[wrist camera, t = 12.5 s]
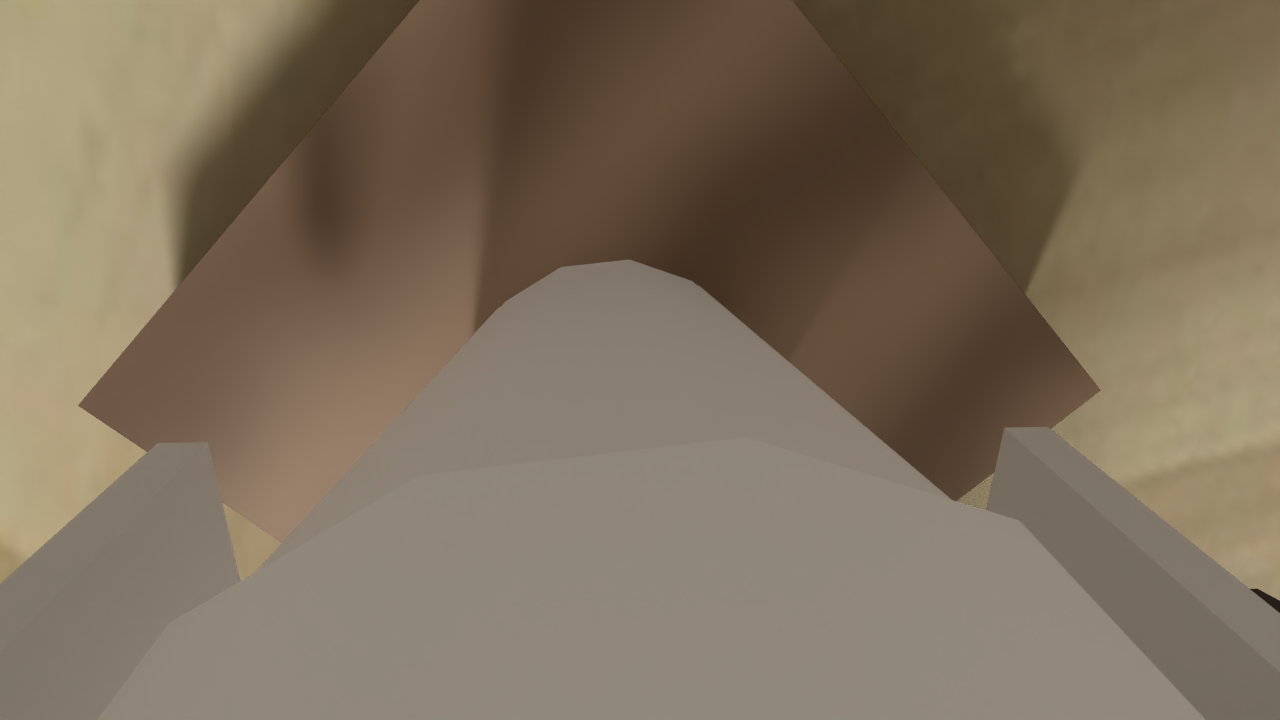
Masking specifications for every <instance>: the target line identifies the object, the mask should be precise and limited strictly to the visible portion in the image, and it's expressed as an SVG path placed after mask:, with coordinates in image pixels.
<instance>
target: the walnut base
mask: <svg viewBox="0 0 1280 720" xmlns="http://www.w3.org/2000/svg"><path fill="white" fill-rule="evenodd" d="M629 259H630V260H632V261H635V262H638V263H641V264H644V265H647V266H650V267H653V268H656V269H659V270H662V271H664V272H667V273H670V274H673V275H676V276H679V277H682V278H685V279H688V280H691V281H693V282H694V283H695V284H696V285H698V286H700V287H701V288H702V289H704V290H705V291H706V292H707V293H708V294H710V295H711V296H712V297H713V298H714V299H715V300H717V301H718V302H719V303H720V304H721V305H723V306H724V307H725V308H726V309H727V310H728V311H730V312H731V313H732V314H733V315H734V316H736V317H737V318H738V319H739V320H740V321H741V322H743V323H744V324H745V325H746V326H747V327H748V328H750V329H751V330H752V331H753V332H754V333H756V334H757V335H758V336H759V337H760V338H761V339H763V340H764V341H765V342H766V343H767V344H769V345H770V346H771V347H772V348H773V349H774V350H776V351H777V352H778V353H779V354H780V355H782V356H783V357H784V358H785V359H786V360H787V361H789V362H790V363H791V364H792V365H793V366H795V367H796V368H797V369H798V370H799V371H800V372H802V373H803V374H804V375H805V376H806V377H808V378H809V379H810V380H811V381H812V382H813V383H815V384H816V385H817V386H818V387H819V388H820V389H822V390H823V391H824V392H825V393H826V394H828V395H829V396H830V397H831V398H832V399H833V400H835V401H836V402H837V403H838V404H839V405H841V406H842V407H843V408H844V409H845V410H846V411H848V412H849V413H850V414H851V415H852V416H854V417H855V418H856V419H857V420H858V421H859V422H861V423H862V424H863V425H864V426H865V427H867V428H868V429H869V430H870V431H871V432H872V433H874V434H875V435H876V436H877V437H878V438H880V439H881V440H882V441H883V442H884V443H885V444H887V445H888V446H889V447H890V448H891V449H892V450H894V451H895V452H896V453H897V454H898V455H900V456H901V457H902V458H903V459H904V460H905V461H907V462H908V463H909V464H910V465H911V466H913V467H914V468H915V469H916V470H917V471H918V472H920V473H921V474H922V475H923V476H924V477H926V478H927V479H928V480H929V481H930V482H931V483H933V484H934V485H935V486H936V487H937V488H939V489H940V490H941V491H942V492H943V493H944V494H946V495H947V496H948V497H949V498H950V499H951V500H954V501H957V500H958V499H959V498H961V497H962V496H963V495H965V494H966V493H967V492H969V491H970V490H971V489H972V488H974V487H975V486H976V485H978V484H979V483H980V482H982V481H983V480H984V479H986V478H987V477H988V476H989V475H991V474H992V473H993V472H995V467H996V463H997V458H998V454H999V449H1000V445H1001V441H1002V436H1003V432H1004V428H1010V427H1048V428H1050V429H1051V428H1052V427H1053V426H1055V425H1056V424H1057V423H1059V422H1060V421H1061V420H1063V419H1064V418H1065V417H1066V416H1068V415H1069V414H1070V413H1072V412H1073V411H1074V410H1076V409H1077V408H1078V407H1079V406H1081V405H1082V404H1083V403H1085V402H1086V401H1087V400H1089V399H1090V398H1091V397H1093V396H1094V395H1095V394H1096V393H1098V392H1099V391H1100V389H1099V387H1098V386H1097V385H1096V384H1095V382H1094V381H1093V380H1092V379H1091V377H1090V376H1089V375H1088V374H1087V372H1086V371H1085V370H1084V368H1083V367H1082V366H1081V365H1080V363H1079V362H1078V361H1077V360H1076V358H1075V357H1074V356H1073V355H1072V353H1071V352H1070V351H1069V350H1068V348H1067V347H1066V346H1065V344H1064V343H1063V342H1062V341H1061V339H1060V338H1059V337H1058V336H1057V334H1056V333H1055V332H1054V331H1053V329H1052V328H1051V327H1050V325H1049V324H1048V323H1047V322H1046V320H1045V319H1044V318H1043V317H1042V315H1041V314H1040V313H1039V312H1038V310H1037V309H1036V308H1035V306H1034V305H1033V304H1032V303H1031V301H1030V300H1029V299H1028V298H1027V296H1026V295H1025V294H1024V293H1023V291H1022V290H1021V289H1020V287H1019V286H1018V285H1017V284H1016V282H1015V281H1014V280H1013V279H1012V277H1011V276H1010V275H1009V274H1008V272H1007V271H1006V270H1005V269H1004V267H1003V266H1002V265H1001V263H1000V262H999V261H998V260H997V258H996V257H995V256H994V255H993V253H992V252H991V251H990V250H989V248H988V247H987V246H986V244H985V243H984V242H983V241H982V239H981V238H980V237H979V236H978V234H977V233H976V232H975V231H974V229H973V228H972V227H971V225H970V224H969V223H968V222H967V220H966V219H965V218H964V217H963V215H962V214H961V213H960V212H959V210H958V209H957V208H956V206H955V205H954V204H953V203H952V201H951V200H950V199H949V198H948V196H947V195H946V194H945V193H944V191H943V190H942V189H941V188H940V186H939V185H938V184H937V182H936V181H935V180H934V179H933V177H932V176H931V175H930V174H929V172H928V171H927V170H926V169H925V167H924V166H923V165H922V163H921V162H920V161H919V160H918V158H917V157H916V156H915V155H914V153H913V152H912V151H911V150H910V148H909V147H908V146H907V144H906V143H905V142H904V141H903V139H902V138H901V137H900V136H899V134H898V133H897V132H896V131H895V129H894V128H893V127H892V125H891V124H890V123H889V122H888V120H887V119H886V118H885V117H884V115H883V114H882V113H881V112H880V110H879V109H878V108H877V107H876V105H875V104H874V103H873V101H872V100H871V99H870V98H869V96H868V95H867V94H866V93H865V91H864V90H863V89H862V88H861V86H860V85H859V84H858V82H857V81H856V80H855V79H854V77H853V76H852V75H851V74H850V72H849V71H848V70H847V69H846V67H845V66H844V65H843V63H842V62H841V61H840V60H839V58H838V57H837V56H836V55H835V53H834V52H833V51H832V50H831V48H830V47H829V46H828V44H827V43H826V42H825V41H824V39H823V38H822V37H821V36H820V34H819V33H818V32H817V31H816V29H815V28H814V27H813V26H812V24H811V23H810V22H809V20H808V19H807V18H806V17H805V15H804V14H803V13H802V12H801V10H800V9H799V8H798V7H797V5H796V4H795V3H794V1H793V0H419V2H418V3H417V4H416V5H415V6H414V7H413V9H412V10H411V11H410V12H409V13H408V15H407V16H406V17H405V18H404V19H403V21H402V22H401V23H400V24H399V25H398V26H397V28H396V29H395V30H394V31H393V32H392V34H391V35H390V36H389V37H388V38H387V39H386V41H385V42H384V43H383V44H382V45H381V47H380V48H379V49H378V50H377V51H376V53H375V54H374V55H373V56H372V57H371V58H370V60H369V61H368V62H367V63H366V64H365V66H364V67H363V68H362V69H361V70H360V72H359V73H358V74H357V75H356V76H355V77H354V79H353V80H352V81H351V82H350V83H349V85H348V86H347V87H346V88H345V89H344V91H343V92H342V93H341V94H340V95H339V96H338V98H337V99H336V100H335V101H334V102H333V104H332V105H331V106H330V107H329V108H328V110H327V111H326V112H325V113H324V114H323V115H322V117H321V118H320V119H319V120H318V121H317V123H316V124H315V125H314V126H313V127H312V129H311V130H310V131H309V132H308V133H307V134H306V136H305V137H304V138H303V139H302V140H301V142H300V143H299V144H298V145H297V146H296V147H295V149H294V150H293V151H292V152H291V153H290V155H289V156H288V157H287V158H286V159H285V161H284V162H283V163H282V164H281V165H280V166H279V168H278V169H277V170H276V171H275V172H274V174H273V175H272V176H271V177H270V178H269V180H268V181H267V182H266V183H265V184H264V185H263V187H262V188H261V189H260V190H259V191H258V193H257V194H256V195H255V196H254V197H253V199H252V200H251V201H250V202H249V203H248V204H247V206H246V207H245V208H244V209H243V210H242V212H241V213H240V214H239V215H238V216H237V218H236V219H235V220H234V221H233V222H232V223H231V225H230V226H229V227H228V228H227V229H226V231H225V232H224V233H223V234H222V235H221V237H220V238H219V239H218V240H217V241H216V242H215V244H214V245H213V246H212V247H211V248H210V250H209V251H208V252H207V253H206V254H205V255H204V257H203V258H202V259H201V260H200V261H199V263H198V264H197V265H196V266H195V267H194V269H193V270H192V271H191V272H190V273H189V274H188V276H187V277H186V278H185V279H184V280H183V282H182V283H181V284H180V285H179V286H178V288H177V289H176V290H175V291H174V292H173V293H172V295H171V296H170V297H169V298H168V299H167V301H166V302H165V303H164V304H163V305H162V307H161V308H160V309H159V310H158V311H157V312H156V314H155V315H154V316H153V317H152V318H151V320H150V321H149V322H148V323H147V324H146V326H145V327H144V328H143V329H142V330H141V331H140V333H139V334H138V335H137V336H136V337H135V339H134V340H133V341H132V342H131V343H130V345H129V346H128V347H127V348H126V349H125V350H124V352H123V353H122V354H121V355H120V356H119V358H118V359H117V360H116V361H115V362H114V363H113V365H112V366H111V367H110V368H109V369H108V371H107V372H106V373H105V374H104V375H103V377H102V378H101V379H100V380H99V381H98V382H97V384H96V385H95V386H94V387H93V388H92V390H91V391H90V392H89V393H88V394H87V396H86V397H85V398H84V399H83V400H82V401H81V403H80V404H79V405H78V406H80V407H81V408H83V409H84V410H86V411H87V412H88V413H90V414H91V415H93V416H94V417H96V418H97V419H99V420H100V421H102V422H103V423H105V424H106V425H108V426H109V427H111V428H112V429H114V430H115V431H117V432H118V433H120V434H121V435H123V436H124V437H126V438H127V439H129V440H130V441H132V442H133V443H135V444H136V445H138V446H139V447H141V448H142V449H144V450H145V451H147V452H148V451H150V450H151V449H152V448H153V447H154V446H155V445H156V444H157V443H187V442H208V445H209V449H210V453H211V457H212V462H213V466H214V470H215V474H216V479H217V483H218V487H219V492H220V496H221V500H222V502H223V503H224V504H225V505H227V506H228V507H230V508H231V509H233V510H234V511H236V512H237V513H239V514H240V515H242V516H243V517H245V518H246V519H248V520H249V521H251V522H252V523H254V524H255V525H257V526H258V527H260V528H261V529H263V530H264V531H266V532H267V533H269V534H270V535H272V536H273V537H275V538H276V539H278V540H279V541H281V542H282V543H283V542H284V541H285V539H286V538H287V537H288V536H289V535H290V534H291V533H292V532H293V531H294V530H295V529H296V527H297V526H298V525H299V524H300V523H301V522H302V521H303V520H304V519H305V518H306V517H307V516H308V514H309V513H310V512H311V511H312V510H313V509H314V508H315V507H316V506H317V505H318V504H319V502H320V501H321V500H322V499H323V498H324V497H325V496H326V495H327V494H328V493H329V492H330V490H331V489H332V488H333V487H334V486H335V485H336V484H337V483H338V482H339V481H340V480H341V478H342V477H343V476H344V475H345V474H346V473H347V472H348V471H349V470H350V469H351V468H352V466H353V465H354V464H355V463H356V462H357V461H358V460H359V459H360V458H361V457H362V456H363V454H364V453H365V452H366V451H367V450H368V449H369V448H370V447H371V446H372V445H373V444H374V442H375V441H376V440H377V439H378V438H379V437H380V436H381V435H382V434H383V433H384V432H385V430H386V429H387V428H388V427H389V426H390V425H391V424H392V423H393V422H394V421H395V420H396V419H397V417H398V416H399V415H400V414H401V413H402V412H403V411H404V410H405V409H406V408H407V407H408V405H409V404H410V403H411V402H412V401H413V400H414V399H415V398H416V397H417V396H418V395H419V393H420V392H421V391H422V390H423V389H424V388H425V387H426V386H427V385H428V384H429V383H430V381H431V380H432V379H433V378H434V377H435V376H436V375H437V374H438V373H439V372H440V371H441V369H442V368H443V367H444V366H445V365H446V364H447V363H448V362H449V361H450V360H451V359H452V357H453V356H454V355H455V354H456V353H457V352H458V351H459V350H460V349H461V348H462V347H463V345H464V344H465V343H466V342H467V341H468V340H469V339H470V338H471V337H472V336H473V335H474V333H475V332H476V331H477V330H478V329H479V328H480V327H481V326H482V325H483V324H484V323H485V322H486V320H487V319H488V318H489V317H490V316H491V315H492V314H493V313H494V312H495V311H496V310H497V309H498V308H499V307H501V306H502V305H503V303H504V302H505V301H507V300H509V299H510V298H512V297H513V296H515V295H517V294H518V293H520V292H522V291H523V290H525V289H526V288H528V287H530V286H531V285H533V284H534V283H536V282H538V281H539V280H541V279H543V278H544V277H546V276H547V275H549V274H551V273H552V272H554V271H555V270H557V269H559V268H560V267H566V266H575V265H584V264H593V263H602V262H611V261H620V260H629Z"/></svg>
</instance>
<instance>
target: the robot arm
mask: <svg viewBox="0 0 1280 720" xmlns="http://www.w3.org/2000/svg"><path fill="white" fill-rule="evenodd" d="M986 510H987V511H990V512H993V513H996V514H1000V515H1003V516H1006V517H1009V518H1013V519H1016V520H1019V521H1020V522H1021V523H1022V524H1023V525H1024V526H1025V527H1026V528H1027V529H1028V530H1029V531H1030V532H1031V534H1032V535H1033V536H1034V537H1035V538H1036V539H1037V540H1038V541H1039V542H1040V543H1041V544H1042V545H1043V546H1044V547H1045V548H1046V550H1047V551H1048V552H1049V553H1050V554H1051V555H1052V556H1053V557H1054V558H1055V559H1056V560H1057V561H1058V562H1059V563H1060V565H1061V566H1062V567H1063V568H1064V569H1065V570H1066V571H1067V572H1068V573H1069V574H1070V575H1071V576H1072V577H1073V578H1074V580H1075V581H1076V582H1077V583H1078V584H1079V585H1080V586H1081V587H1082V588H1083V589H1084V590H1085V591H1086V592H1087V593H1088V594H1089V596H1090V597H1091V598H1092V599H1093V600H1094V601H1095V602H1096V603H1097V604H1098V605H1099V606H1100V607H1101V608H1102V609H1103V611H1104V612H1105V613H1106V614H1107V615H1108V616H1109V617H1110V618H1111V619H1112V620H1113V621H1114V622H1115V623H1116V624H1117V626H1118V627H1119V628H1120V629H1121V630H1122V631H1123V632H1124V633H1125V634H1126V635H1127V636H1128V637H1129V638H1130V639H1131V640H1132V642H1133V643H1134V644H1135V645H1136V646H1137V647H1138V648H1139V649H1140V650H1141V651H1142V652H1143V653H1144V654H1145V655H1146V657H1147V658H1148V659H1149V660H1150V661H1151V662H1152V663H1153V664H1154V665H1155V666H1156V667H1157V668H1158V669H1159V670H1160V671H1161V673H1162V674H1163V675H1164V676H1165V677H1166V678H1167V679H1168V680H1169V681H1170V682H1171V683H1172V684H1173V685H1174V686H1175V688H1176V689H1177V690H1178V691H1179V692H1180V693H1181V694H1182V695H1183V696H1184V697H1185V698H1186V699H1187V700H1188V701H1189V703H1190V704H1191V705H1192V706H1193V707H1194V708H1195V709H1196V710H1197V711H1198V712H1199V713H1200V714H1201V715H1202V716H1203V717H1204V719H1205V720H1280V601H1279V600H1277V599H1275V598H1273V597H1272V596H1270V595H1268V594H1266V593H1264V592H1262V591H1260V590H1259V589H1249V588H1248V587H1247V586H1245V585H1244V584H1243V583H1242V582H1240V581H1239V580H1238V579H1237V578H1235V577H1234V576H1233V575H1232V574H1230V573H1229V572H1228V571H1227V570H1225V569H1224V568H1223V567H1222V566H1220V565H1219V564H1218V563H1217V562H1215V561H1214V560H1213V559H1212V558H1210V557H1209V556H1208V555H1207V554H1205V553H1204V552H1203V551H1202V550H1200V549H1199V548H1198V547H1197V546H1195V545H1194V544H1193V543H1192V542H1190V541H1189V540H1188V539H1187V538H1185V537H1184V536H1183V535H1182V534H1181V533H1179V532H1178V531H1177V530H1176V529H1174V528H1173V527H1172V526H1171V525H1169V524H1168V523H1167V522H1166V521H1164V520H1163V519H1162V518H1161V517H1159V516H1158V515H1157V514H1156V513H1154V512H1153V511H1152V510H1151V509H1149V508H1148V507H1147V506H1146V505H1144V504H1143V503H1142V502H1141V501H1139V500H1138V499H1137V498H1136V497H1134V496H1133V495H1132V494H1131V493H1129V492H1128V491H1127V490H1126V489H1124V488H1123V487H1122V486H1121V485H1119V484H1118V483H1117V482H1116V481H1114V480H1113V479H1112V478H1111V477H1109V476H1108V475H1107V474H1106V473H1104V472H1103V471H1102V470H1101V469H1099V468H1098V467H1097V466H1096V465H1095V464H1093V463H1092V462H1091V461H1090V460H1088V459H1087V458H1086V457H1085V456H1083V455H1082V454H1081V453H1080V452H1078V451H1077V450H1076V449H1075V448H1073V447H1072V446H1071V445H1070V444H1068V443H1067V442H1066V441H1065V440H1063V439H1062V438H1061V437H1060V436H1058V435H1057V434H1056V433H1055V432H1053V431H1052V430H1051V429H1050V428H1048V427H1010V428H1004V432H1003V436H1002V441H1001V445H1000V449H999V454H998V458H997V463H996V467H995V472H994V476H993V481H992V485H991V490H990V494H989V499H988V503H987V507H986ZM238 582H240V577H239V573H238V568H237V564H236V560H235V556H234V551H233V547H232V543H231V539H230V534H229V530H228V526H227V521H226V517H225V513H224V509H223V504H222V500H221V496H220V492H219V487H218V483H217V479H216V474H215V470H214V466H213V462H212V457H211V453H210V449H209V445H208V442H187V443H157V444H156V445H155V446H154V447H153V448H152V449H151V450H150V451H148V452H147V453H146V454H145V455H144V456H143V457H142V458H141V459H139V460H138V461H137V462H136V463H135V464H134V465H133V466H132V467H130V468H129V469H128V470H127V471H126V472H125V473H124V474H123V475H122V476H120V477H119V478H118V479H117V480H116V481H115V482H114V483H113V484H111V485H110V486H109V487H108V488H107V489H106V490H105V491H104V492H103V493H101V494H100V495H99V496H98V497H97V498H96V499H95V500H94V501H92V502H91V503H90V504H89V505H88V506H87V507H86V508H85V509H83V510H82V511H81V512H80V513H79V514H78V515H77V516H76V517H75V518H73V519H72V520H71V521H70V522H69V523H68V524H67V525H66V526H64V527H63V528H62V529H61V530H60V531H59V532H58V533H57V534H56V535H54V536H53V537H52V538H51V539H50V540H49V541H48V542H47V543H45V544H44V545H43V546H42V547H41V548H40V549H39V550H38V551H36V552H35V553H34V554H33V555H32V556H31V557H30V558H29V559H28V560H26V561H25V562H24V563H23V564H22V565H21V566H20V567H19V568H17V569H16V570H15V571H14V572H13V573H12V574H11V575H10V576H8V577H7V578H6V579H5V580H4V581H3V582H2V583H1V584H0V720H98V719H99V717H100V716H101V715H102V713H103V712H104V711H105V709H106V708H107V706H108V705H109V704H110V702H111V701H112V700H113V698H114V697H115V696H116V694H117V693H118V692H119V690H120V689H121V688H122V686H123V685H124V683H125V682H126V681H127V679H128V678H129V677H130V675H131V674H132V673H133V671H134V670H135V669H136V667H137V666H138V665H139V663H140V662H141V661H142V659H143V658H144V656H145V655H146V654H147V652H148V651H149V650H150V648H151V647H152V646H153V644H154V643H155V642H156V640H157V639H158V638H159V636H160V635H161V633H162V632H163V631H164V629H165V628H166V627H167V625H168V624H169V623H170V622H172V621H174V620H175V619H177V618H179V617H180V616H182V615H184V614H185V613H187V612H189V611H191V610H192V609H194V608H196V607H197V606H199V605H201V604H202V603H204V602H206V601H208V600H209V599H211V598H213V597H214V596H216V595H218V594H219V593H221V592H223V591H224V590H226V589H228V588H230V587H231V586H233V585H235V584H236V583H238Z"/></svg>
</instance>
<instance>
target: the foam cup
mask: <svg viewBox="0 0 1280 720" xmlns="http://www.w3.org/2000/svg"><path fill="white" fill-rule="evenodd" d="M98 720H1205V719H1204V717H1203V716H1202V715H1201V714H1200V713H1199V712H1198V711H1197V710H1196V709H1195V708H1194V707H1193V706H1192V705H1191V704H1190V703H1189V701H1188V700H1187V699H1186V698H1185V697H1184V696H1183V695H1182V694H1181V693H1180V692H1179V691H1178V690H1177V689H1176V688H1175V686H1174V685H1173V684H1172V683H1171V682H1170V681H1169V680H1168V679H1167V678H1166V677H1165V676H1164V675H1163V674H1162V673H1161V671H1160V670H1159V669H1158V668H1157V667H1156V666H1155V665H1154V664H1153V663H1152V662H1151V661H1150V660H1149V659H1148V658H1147V657H1146V655H1145V654H1144V653H1143V652H1142V651H1141V650H1140V649H1139V648H1138V647H1137V646H1136V645H1135V644H1134V643H1133V642H1132V640H1131V639H1130V638H1129V637H1128V636H1127V635H1126V634H1125V633H1124V632H1123V631H1122V630H1121V629H1120V628H1119V627H1118V626H1117V624H1116V623H1115V622H1114V621H1113V620H1112V619H1111V618H1110V617H1109V616H1108V615H1107V614H1106V613H1105V612H1104V611H1103V609H1102V608H1101V607H1100V606H1099V605H1098V604H1097V603H1096V602H1095V601H1094V600H1093V599H1092V598H1091V597H1090V596H1089V594H1088V593H1087V592H1086V591H1085V590H1084V589H1083V588H1082V587H1081V586H1080V585H1079V584H1078V583H1077V582H1076V581H1075V580H1074V578H1073V577H1072V576H1071V575H1070V574H1069V573H1068V572H1067V571H1066V570H1065V569H1064V568H1063V567H1062V566H1061V565H1060V563H1059V562H1058V561H1057V560H1056V559H1055V558H1054V557H1053V556H1052V555H1051V554H1050V553H1049V552H1048V551H1047V550H1046V548H1045V547H1044V546H1043V545H1042V544H1041V543H1040V542H1039V541H1038V540H1037V539H1036V538H1035V537H1034V536H1033V535H1032V534H1031V532H1030V531H1029V530H1028V529H1027V528H1026V527H1025V526H1024V525H1023V524H1022V523H1021V522H1020V521H1019V520H1016V519H1013V518H1009V517H1006V516H1003V515H1000V514H996V513H993V512H990V511H987V510H983V509H980V508H977V507H973V506H970V505H967V504H964V503H960V502H957V501H954V500H951V499H950V498H949V497H948V496H947V495H946V494H944V493H943V492H942V491H941V490H940V489H939V488H937V487H936V486H935V485H934V484H933V483H931V482H930V481H929V480H928V479H927V478H926V477H924V476H923V475H922V474H921V473H920V472H918V471H917V470H916V469H915V468H914V467H913V466H911V465H910V464H909V463H908V462H907V461H905V460H904V459H903V458H902V457H901V456H900V455H898V454H897V453H896V452H895V451H894V450H892V449H891V448H890V447H889V446H888V445H887V444H885V443H884V442H883V441H882V440H881V439H880V438H878V437H877V436H876V435H875V434H874V433H872V432H871V431H870V430H869V429H868V428H867V427H865V426H864V425H863V424H862V423H861V422H859V421H858V420H857V419H856V418H855V417H854V416H852V415H851V414H850V413H849V412H848V411H846V410H845V409H844V408H843V407H842V406H841V405H839V404H838V403H837V402H836V401H835V400H833V399H832V398H831V397H830V396H829V395H828V394H826V393H825V392H824V391H823V390H822V389H820V388H819V387H818V386H817V385H816V384H815V383H813V382H812V381H811V380H810V379H809V378H808V377H806V376H805V375H804V374H803V373H802V372H800V371H799V370H798V369H797V368H796V367H795V366H793V365H792V364H791V363H790V362H789V361H787V360H786V359H785V358H784V357H783V356H782V355H780V354H779V353H778V352H777V351H776V350H774V349H773V348H772V347H771V346H770V345H769V344H767V343H766V342H765V341H764V340H763V339H761V338H760V337H759V336H758V335H757V334H756V333H754V332H753V331H752V330H751V329H750V328H748V327H747V326H746V325H745V324H744V323H743V322H741V321H740V320H739V319H738V318H737V317H736V316H734V315H733V314H732V313H731V312H730V311H728V310H727V309H726V308H725V307H724V306H723V305H721V304H720V303H719V302H718V301H717V300H715V299H714V298H713V297H712V296H711V295H710V294H708V293H707V292H706V291H705V290H704V289H702V288H701V287H700V286H698V285H696V284H695V283H694V282H693V281H691V280H688V279H685V278H682V277H679V276H676V275H673V274H670V273H667V272H664V271H662V270H659V269H656V268H653V267H650V266H647V265H644V264H641V263H638V262H635V261H632V260H630V259H629V260H620V261H611V262H602V263H593V264H584V265H575V266H566V267H560V268H559V269H557V270H555V271H554V272H552V273H551V274H549V275H547V276H546V277H544V278H543V279H541V280H539V281H538V282H536V283H534V284H533V285H531V286H530V287H528V288H526V289H525V290H523V291H522V292H520V293H518V294H517V295H515V296H513V297H512V298H510V299H509V300H507V301H505V302H504V303H503V305H502V306H501V307H499V308H498V309H497V310H496V311H495V312H494V313H493V314H492V315H491V316H490V317H489V318H488V319H487V320H486V322H485V323H484V324H483V325H482V326H481V327H480V328H479V329H478V330H477V331H476V332H475V333H474V335H473V336H472V337H471V338H470V339H469V340H468V341H467V342H466V343H465V344H464V345H463V347H462V348H461V349H460V350H459V351H458V352H457V353H456V354H455V355H454V356H453V357H452V359H451V360H450V361H449V362H448V363H447V364H446V365H445V366H444V367H443V368H442V369H441V371H440V372H439V373H438V374H437V375H436V376H435V377H434V378H433V379H432V380H431V381H430V383H429V384H428V385H427V386H426V387H425V388H424V389H423V390H422V391H421V392H420V393H419V395H418V396H417V397H416V398H415V399H414V400H413V401H412V402H411V403H410V404H409V405H408V407H407V408H406V409H405V410H404V411H403V412H402V413H401V414H400V415H399V416H398V417H397V419H396V420H395V421H394V422H393V423H392V424H391V425H390V426H389V427H388V428H387V429H386V430H385V432H384V433H383V434H382V435H381V436H380V437H379V438H378V439H377V440H376V441H375V442H374V444H373V445H372V446H371V447H370V448H369V449H368V450H367V451H366V452H365V453H364V454H363V456H362V457H361V458H360V459H359V460H358V461H357V462H356V463H355V464H354V465H353V466H352V468H351V469H350V470H349V471H348V472H347V473H346V474H345V475H344V476H343V477H342V478H341V480H340V481H339V482H338V483H337V484H336V485H335V486H334V487H333V488H332V489H331V490H330V492H329V493H328V494H327V495H326V496H325V497H324V498H323V499H322V500H321V501H320V502H319V504H318V505H317V506H316V507H315V508H314V509H313V510H312V511H311V512H310V513H309V514H308V516H307V517H306V518H305V519H304V520H303V521H302V522H301V523H300V524H299V525H298V526H297V527H296V529H295V530H294V531H293V532H292V533H291V534H290V535H289V536H288V537H287V538H286V539H285V541H284V542H283V543H282V544H281V545H280V546H279V547H278V548H277V549H276V550H275V551H274V553H273V554H272V555H271V556H270V557H269V558H268V559H267V560H266V561H265V562H264V563H263V565H262V566H261V567H260V568H259V569H258V570H257V571H256V572H255V573H253V574H252V575H250V576H248V577H247V578H245V579H243V580H241V581H240V582H238V583H236V584H235V585H233V586H231V587H230V588H228V589H226V590H224V591H223V592H221V593H219V594H218V595H216V596H214V597H213V598H211V599H209V600H208V601H206V602H204V603H202V604H201V605H199V606H197V607H196V608H194V609H192V610H191V611H189V612H187V613H185V614H184V615H182V616H180V617H179V618H177V619H175V620H174V621H172V622H170V623H169V624H168V625H167V627H166V628H165V629H164V631H163V632H162V633H161V635H160V636H159V638H158V639H157V640H156V642H155V643H154V644H153V646H152V647H151V648H150V650H149V651H148V652H147V654H146V655H145V656H144V658H143V659H142V661H141V662H140V663H139V665H138V666H137V667H136V669H135V670H134V671H133V673H132V674H131V675H130V677H129V678H128V679H127V681H126V682H125V683H124V685H123V686H122V688H121V689H120V690H119V692H118V693H117V694H116V696H115V697H114V698H113V700H112V701H111V702H110V704H109V705H108V706H107V708H106V709H105V711H104V712H103V713H102V715H101V716H100V717H99V719H98Z"/></svg>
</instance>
